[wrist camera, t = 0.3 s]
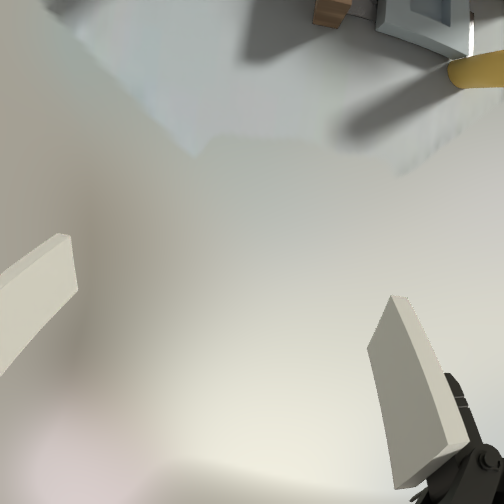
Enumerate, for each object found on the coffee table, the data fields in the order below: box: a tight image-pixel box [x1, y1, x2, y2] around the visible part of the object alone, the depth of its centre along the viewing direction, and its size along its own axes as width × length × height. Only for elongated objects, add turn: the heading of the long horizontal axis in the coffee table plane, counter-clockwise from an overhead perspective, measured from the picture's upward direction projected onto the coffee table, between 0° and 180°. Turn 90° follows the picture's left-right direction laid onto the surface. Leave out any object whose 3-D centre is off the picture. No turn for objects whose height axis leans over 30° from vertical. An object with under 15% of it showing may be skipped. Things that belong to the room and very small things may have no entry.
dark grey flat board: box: [347, 0, 474, 57], centre depth 25 cm, size 8×19×1 cm, turn 82°
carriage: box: [375, 0, 470, 60], centre depth 23 cm, size 11×11×4 cm
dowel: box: [447, 50, 504, 89], centre depth 20 cm, size 4×4×16 cm
